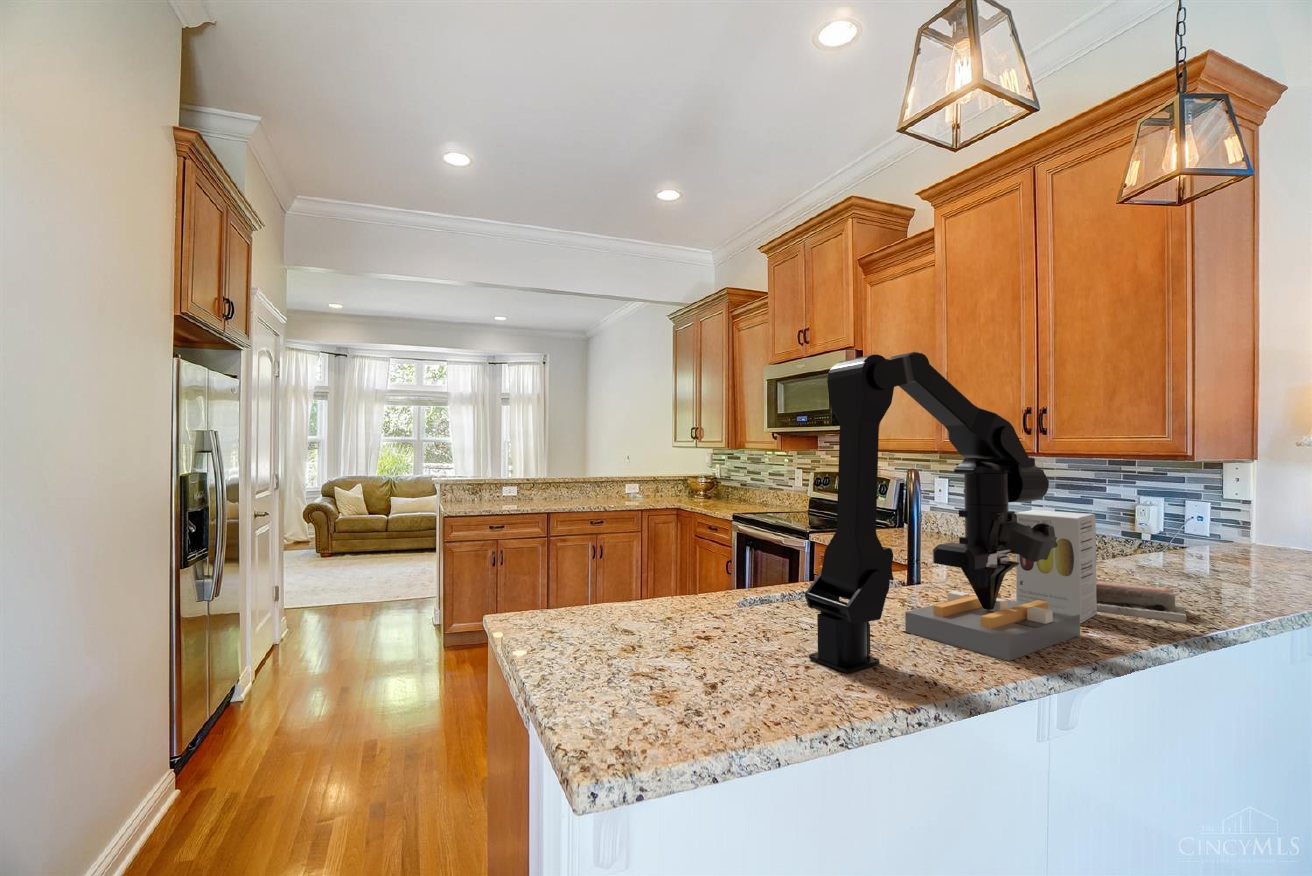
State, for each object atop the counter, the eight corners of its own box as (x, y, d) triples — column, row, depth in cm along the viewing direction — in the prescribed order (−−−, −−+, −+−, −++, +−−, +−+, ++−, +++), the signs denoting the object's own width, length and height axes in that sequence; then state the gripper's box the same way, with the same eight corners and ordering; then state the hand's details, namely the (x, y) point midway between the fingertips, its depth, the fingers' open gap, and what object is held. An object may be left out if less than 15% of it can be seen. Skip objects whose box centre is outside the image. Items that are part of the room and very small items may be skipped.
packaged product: (1049, 580, 105) (1056, 571, 112) (1050, 607, 105) (1057, 597, 112) (1186, 595, 93) (1184, 584, 101) (1187, 626, 93) (1185, 613, 101)
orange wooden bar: (942, 617, 86) (942, 607, 87) (933, 614, 88) (933, 605, 88) (1000, 601, 95) (1000, 593, 95) (991, 600, 96) (991, 591, 96)
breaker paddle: (1000, 612, 88) (1000, 601, 88) (984, 609, 90) (983, 598, 90) (1007, 610, 89) (1007, 600, 89) (991, 607, 91) (990, 596, 91)
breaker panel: (1008, 661, 77) (1008, 625, 77) (905, 631, 89) (905, 601, 89) (1080, 635, 87) (1079, 603, 88) (978, 612, 100) (978, 584, 100)
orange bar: (990, 629, 81) (990, 618, 81) (980, 626, 82) (980, 616, 82) (1048, 611, 89) (1048, 602, 89) (1038, 609, 90) (1038, 600, 90)
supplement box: (1014, 612, 100) (1012, 512, 100) (1033, 603, 106) (1031, 508, 106) (1082, 625, 92) (1079, 516, 93) (1099, 614, 98) (1096, 512, 99)
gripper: (1009, 512, 77) (1011, 633, 76) (1076, 504, 87) (1078, 612, 86) (929, 505, 86) (931, 614, 86) (998, 499, 96) (1000, 596, 96)
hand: (988, 609), depth 88 cm, fingers closed
